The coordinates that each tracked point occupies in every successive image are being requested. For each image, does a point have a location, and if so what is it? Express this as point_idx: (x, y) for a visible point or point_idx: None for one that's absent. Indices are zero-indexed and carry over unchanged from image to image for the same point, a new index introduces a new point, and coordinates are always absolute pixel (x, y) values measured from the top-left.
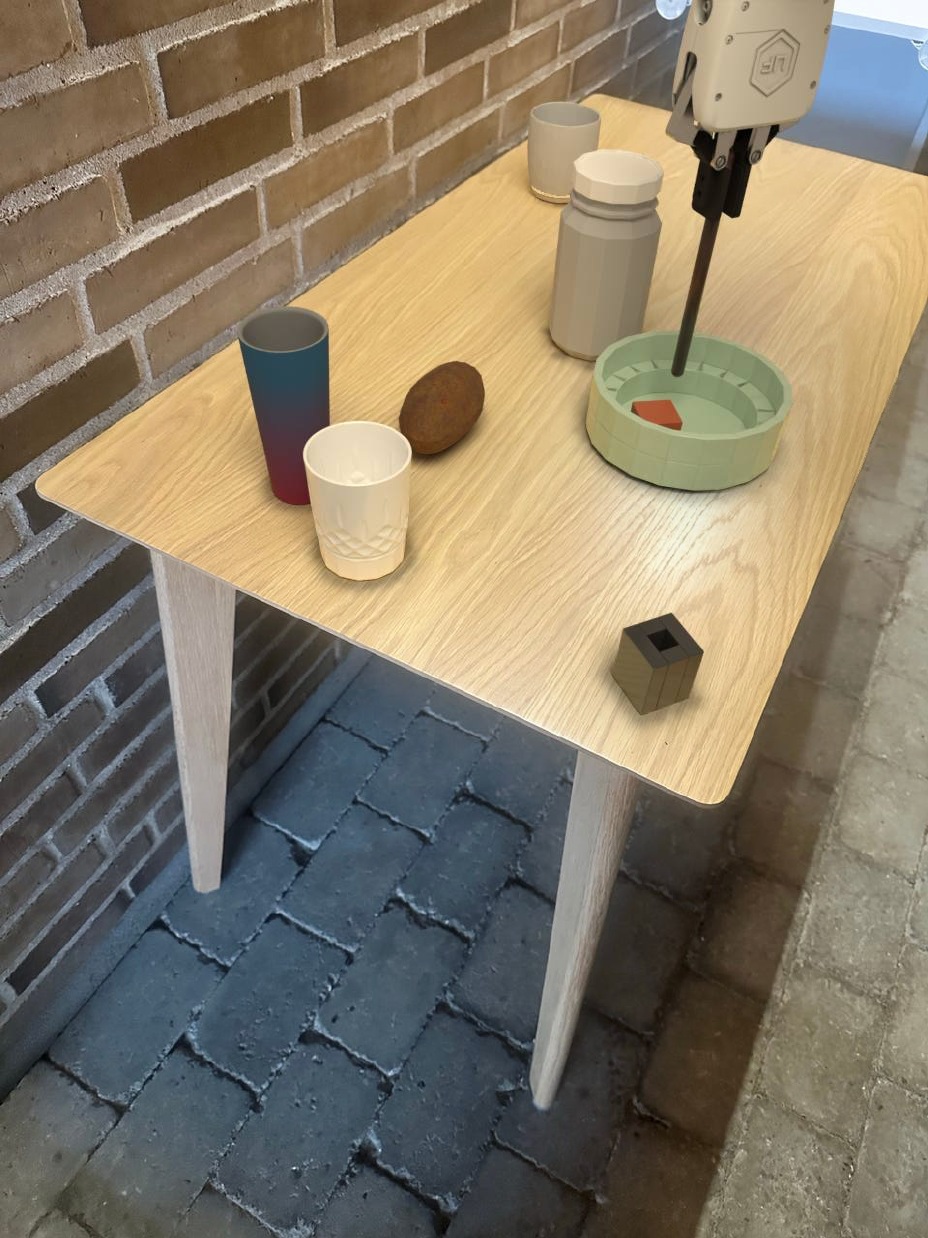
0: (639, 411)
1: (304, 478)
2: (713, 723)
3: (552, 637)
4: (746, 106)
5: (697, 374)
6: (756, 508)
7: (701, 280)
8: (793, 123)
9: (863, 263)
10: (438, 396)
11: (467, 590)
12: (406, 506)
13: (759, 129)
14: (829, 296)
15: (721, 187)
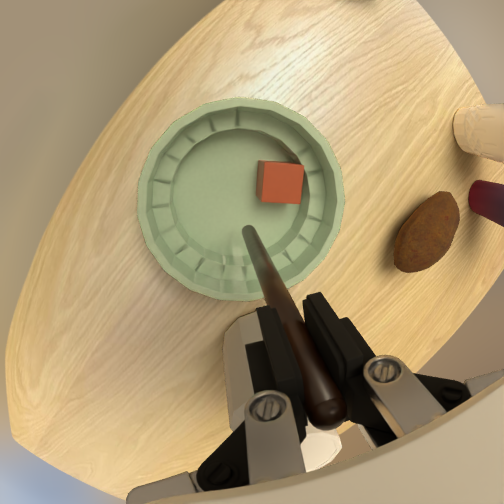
0: (300, 186)
1: (492, 182)
2: None
3: (396, 26)
4: (494, 461)
5: (204, 256)
6: (210, 85)
7: (269, 265)
8: (146, 488)
9: (34, 389)
10: (449, 222)
11: (431, 77)
12: (484, 111)
13: (296, 467)
14: (55, 363)
15: (346, 330)
